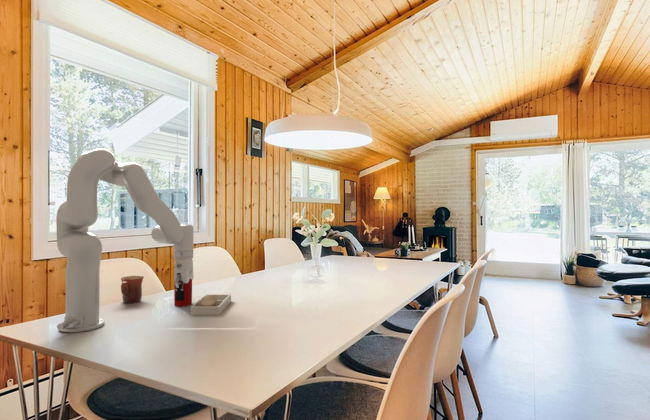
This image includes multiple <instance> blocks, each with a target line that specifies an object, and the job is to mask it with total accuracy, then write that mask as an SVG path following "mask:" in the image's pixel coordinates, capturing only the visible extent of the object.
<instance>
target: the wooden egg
mask: <svg viewBox="0 0 650 420" xmlns="http://www.w3.org/2000/svg"><path fill="white" fill-rule="evenodd" d="M206 295H207V296H205V295H204V296H205V297H203V296H202V297H203V298H202V297H201V298H202V300H201V306H216V305H217V300H216V298H215V297H214V296H212V295H213V294H206Z"/></svg>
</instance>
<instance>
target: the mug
mask: <svg viewBox="0 0 650 420" xmlns="http://www.w3.org/2000/svg"><path fill="white" fill-rule="evenodd" d="M144 278H145V276H143V275H129V276H122V277H120V282H121V285H120V292H121V295H122V302H123V303H125V304H134V303H135V302H136V303H139V302H140V301H141V300H142V297H143V281H144Z"/></svg>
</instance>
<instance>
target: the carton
mask: <svg viewBox="0 0 650 420" xmlns="http://www.w3.org/2000/svg"><path fill="white" fill-rule="evenodd" d="M207 295H208V294H205V295H203V296H202V297H201V298H200V299H198V300H197V301H196V302H195V303H192V304H191V305H190V306H189V307H190V308H189V309H190V310H189V312H190V313H189V315H190V316H220V315H221V314H222V313H223V312H224V310H225V309H226V308H227V307H228V306H229V305H230V303H231V302H232V294H211V295H212V296H214V297H215V298H216V300H217V305H216V306H201V300H202V298H203V297H205V296H207Z"/></svg>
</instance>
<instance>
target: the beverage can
mask: <svg viewBox="0 0 650 420" xmlns="http://www.w3.org/2000/svg"><path fill="white" fill-rule="evenodd" d="M173 283H174V287H173V288H174V290H173V291H174V294H173V296H174V297H173V298H174V299H173V305H174V306H175V307H187V306H189V307H190V306H192V305H193V280H192V279H191V278H190V280H189V282H188V283H187V284H185V283H184V289H183V290H184V301H176V286H175V282H173ZM179 283H183V281H180V282H179ZM181 287H182V285H181Z"/></svg>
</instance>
